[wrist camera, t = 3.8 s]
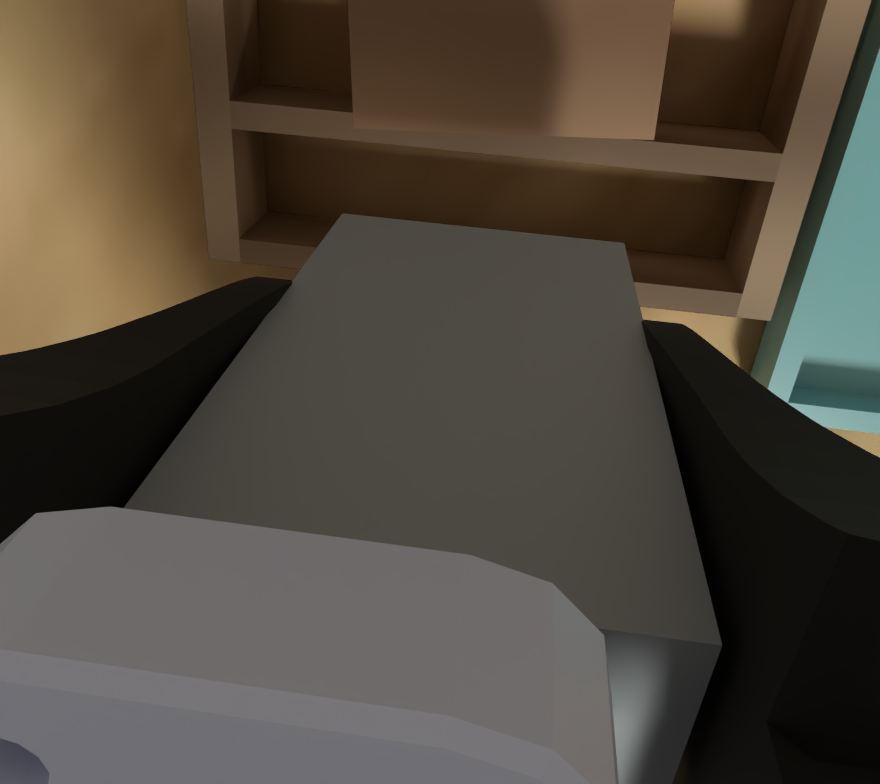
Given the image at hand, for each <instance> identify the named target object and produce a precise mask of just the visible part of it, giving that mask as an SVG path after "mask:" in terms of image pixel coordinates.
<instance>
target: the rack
mask: <svg viewBox="0 0 880 784" xmlns="http://www.w3.org/2000/svg"><path fill="white" fill-rule="evenodd" d="M870 3H871V0H794V3H793V7H792V11H791V14H790V18H789V22H788V25H787V29H786V33H785V37H784V40H783V44H782V48H781V51H780V55H779V59H778V63H777V66H776V70H775V74H774V77H773V81H772V85H771V89H770V92H769V96H768V100H767V103H766V107H765V111H764V115H763V118H762V122H761V126H760V129H759V131H751V130H740V129H729V128H719V127H708V126H698V125H687V124H676V123H666V122H657V124H656V130H655V137H654V140H638V139H612V138H587V137H561V136H535V135H509V134H483V133H457V132H431V131H406V130H380V129H354V124H353V103H352V93H347V92H336V91H325V90H315V89H304V88H293V87H283V86H272V85H261V76H260V55H259V34H258V13H257V0H186V9H187V20H188V31H189V42H190V53H191V64H192V76H193V87H194V98H195V109H196V120H197V131H198V143H199V154H200V165H201V176H202V187H203V198H204V209H205V221H206V232H207V243H208V254H209V259H213V260H222V261H231V262H240V263H249V264H258V265H267V266H276V267H285V268H294V269H301V268H302V267H303V266H304V264H305V263H306V262H307V260H308V259H309V258H310V256H311V255H312V254H313V252H314V251H315V250H316V248H317V247H318V245H319V244H320V243H321V241H322V240H323V239H324V237H325V236H326V235H327V233H328V232H329V231H330V229H331V228H332V227H333V225H334V224H335V223H336V221H337V220H338V219H333V218H324V217H314V216H305V215H295V214H286V213H276V212H267V202H266V181H265V160H264V139H263V132H268V133H279V134H289V135H299V136H309V137H319V138H329V139H340V140H350V141H360V142H370V143H380V144H390V145H401V146H411V147H421V148H431V149H441V150H452V151H462V152H472V153H482V154H492V155H502V156H513V157H523V158H533V159H543V160H553V161H563V162H574V163H584V164H594V165H604V166H614V167H624V168H635V169H645V170H655V171H665V172H675V173H686V174H696V175H706V176H716V177H726V178H736V179H746V181H745V185H744V189H743V193H742V196H741V200H740V204H739V208H738V211H737V215H736V219H735V222H734V226H733V230H732V234H731V237H730V241H729V245H728V248H727V252H726V256H725V260H722V259H713V258H703V257H694V256H684V255H675V254H665V253H656V252H646V251H637V250H627V249H626V253H627V257H628V261H629V265H630V269H631V273H632V277H633V281H634V285H635V290H636V294H637V298H638V302H639V306H640V307H648V308H657V309H666V310H675V311H684V312H693V313H702V314H712V315H721V316H730V317H739V318H748V319H757V320H766V321H771V318H772V315H773V312H774V308H775V305H776V302H777V299H778V296H779V292H780V289H781V286H782V283H783V280H784V277H785V273H786V270H787V267H788V264H789V261H790V258H791V254H792V251H793V248H794V245H795V242H796V238H797V235H798V232H799V229H800V226H801V223H802V219H803V216H804V213H805V210H806V207H807V203H808V200H809V197H810V194H811V191H812V188H813V184H814V181H815V178H816V175H817V172H818V169H819V165H820V162H821V159H822V156H823V153H824V149H825V146H826V143H827V140H828V137H829V134H830V130H831V127H832V124H833V121H834V118H835V114H836V111H837V108H838V105H839V102H840V99H841V95H842V92H843V89H844V86H845V83H846V79H847V76H848V73H849V70H850V67H851V64H852V60H853V57H854V54H855V51H856V48H857V45H858V41H859V38H860V35H861V32H862V29H863V25H864V22H865V19H866V16H867V13H868V10H869V6H870Z"/></svg>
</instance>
